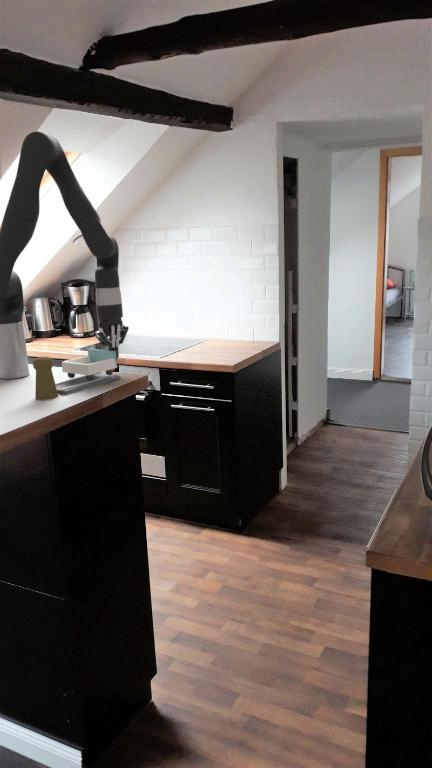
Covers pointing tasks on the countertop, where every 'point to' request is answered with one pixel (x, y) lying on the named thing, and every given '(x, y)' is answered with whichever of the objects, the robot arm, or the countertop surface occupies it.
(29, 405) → the countertop surface
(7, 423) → the countertop surface
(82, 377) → the rail board
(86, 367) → the cart
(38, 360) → the olive green pepper mill
